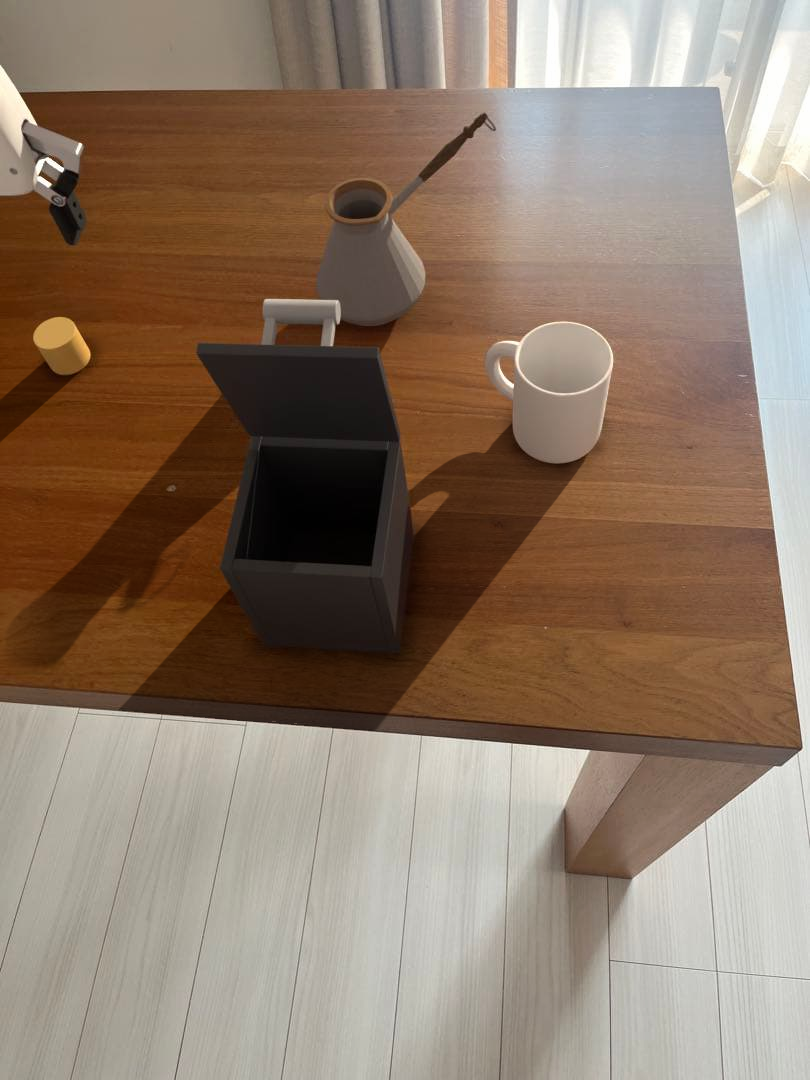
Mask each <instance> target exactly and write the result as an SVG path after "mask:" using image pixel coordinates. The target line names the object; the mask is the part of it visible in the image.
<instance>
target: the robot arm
mask: <svg viewBox="0 0 810 1080" xmlns="http://www.w3.org/2000/svg"><path fill="white" fill-rule="evenodd" d="M85 151H86V149H85V146H84V145H83V143H81V142H79V141H77V140H74V139H72V138H70V137H66V136H64V135H62V134H59V133H57V132H54V131H51V130H49V129H47V128H44V127H42V126H39V125H38V124H37V122H36V120H35V118H34V117H33V114H32V113H31V111H30V109H29V108H28V106H27V104H26V102H25V101H24V99H23V97H22V96H21V94H20V92H19V91H18V89H17V87H16V86H15V84H14V83H13V81H12V80H11V78H10V76H9V75H8V74H7V72H6V71H5V69H4V68H3V67H2V65H1V64H0V196H1V197H2V196H3V197H5V196H7V197H9V196H10V197H12V196H13V197H15V196H24V195H27V194H30V193H32V192H33V191H34V192H35V193H37V194H38V195H39V196H41V197H43V198H44V199H45V200H47V201H48V202H50V204H49V206H48V211H49V213H50V215H51V217H52V219H53V221H54V223H55V225H56V226H57V228H58V229H59V231H60V234H61V236H62V237H63V240H64V241H65V243H66V244H68V246H77V245H78V243H79V240H80V238H81V236H82V233H83V230H85V228H86V226H87V215H86V213H85V211H84V209H83V207H82V205H81V203H80V202H79V199H78V197H77V195H76V193H75V191H74V190H75V188H76V187H77V185H78V183H79V181H80V179H81V177H82V173H83V172H84V161H85ZM50 156H51V157H53V158H56V159H58V160H59V161H60V162H61V163H62V166H61V165H59V163H57V162H55V161H54V160H52V159H51V158H50ZM41 173H43V174H45V175H46V176H48V177H49V178H51V179H52V180H53V181H55V182H54V183H55V184H54V185H53V184H52V183H50V182H49V181H47V180H46V179H45V178H43V177H42V176H40V175H41Z"/></svg>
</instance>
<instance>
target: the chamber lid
mask: <svg viewBox="0 0 810 1080" xmlns="http://www.w3.org/2000/svg"><path fill="white" fill-rule="evenodd" d="M340 317H341V308H340V302H339V301H338V300H320V299H299V298H297V299H296V298H295V299H292V298H290V299H289V298H265V299H264V300H263V303H262V318H263V321H264V323H263V330H262V335H261V344H260V343H258V344H257V343H256V344H255V343H217V342H198V343H197V345H196V346H197V348H196V352H195V353H196V355H197V357H198V358H199V360H200V362H201V363H202V365H203V366H204V368H205V369H206V371H207V372H208V374H209V376H210V378H211V379H212V380H213V382H214V384H215V385H216V387H217V388H218V390H219V392H220V393H221V395H222V397H223V398H224V399H225V401H226V403H227V404H228V405H229V407H230V409H231V410H232V411H233V413H234V415H235V416H236V418H237V420H238V421H239V423H240V424H241V426H242V428H243V429H244V431H245V432H246V434H247V435H248V437H251V436H253V437H280V438H306V439H332V440H358V441H384V442H401V430H400V426H399V422H398V418H397V414H396V410H395V407H394V406H395V405H394V402H393V399H392V398H393V397H392V394H391V391H390V387H389V383H388V378H387V374H386V372H385V367H384V363H383V359H382V355H381V351H380V348H379V347H378V346H339V345H338V346H337V345H334V341H335V333H336V326H338V325H340V322H341V319H340ZM278 324H279V325H322V330H321V331H322V332H321V339H320V345H303V344H302V345H297V344H275V343H276V337H277V330H278Z"/></svg>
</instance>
